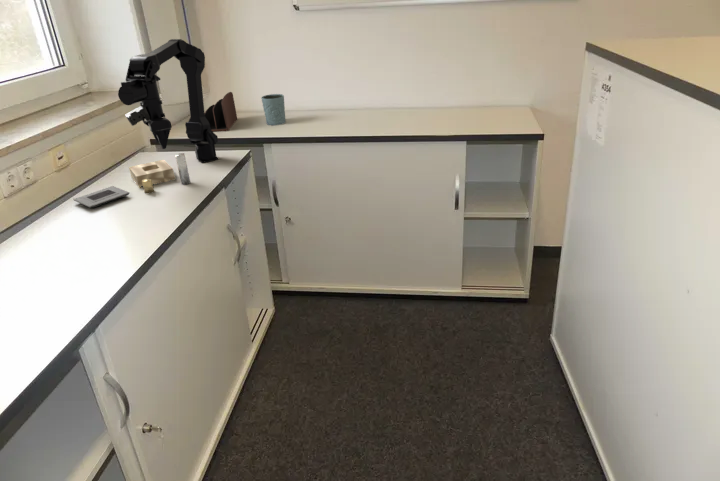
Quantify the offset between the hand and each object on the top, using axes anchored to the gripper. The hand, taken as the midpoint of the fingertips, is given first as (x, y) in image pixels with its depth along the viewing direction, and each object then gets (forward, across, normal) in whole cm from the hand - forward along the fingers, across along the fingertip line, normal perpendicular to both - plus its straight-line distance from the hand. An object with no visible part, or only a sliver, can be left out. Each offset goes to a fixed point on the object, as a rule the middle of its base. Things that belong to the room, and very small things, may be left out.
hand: (161, 145), depth 178 cm
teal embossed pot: (+13, -48, +58) cm, 76 cm away
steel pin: (+13, +5, +4) cm, 14 cm away
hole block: (+13, -6, -4) cm, 15 cm away
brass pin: (+13, +6, -8) cm, 16 cm away
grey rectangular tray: (+13, +4, -22) cm, 26 cm away
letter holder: (+13, -60, +37) cm, 71 cm away
